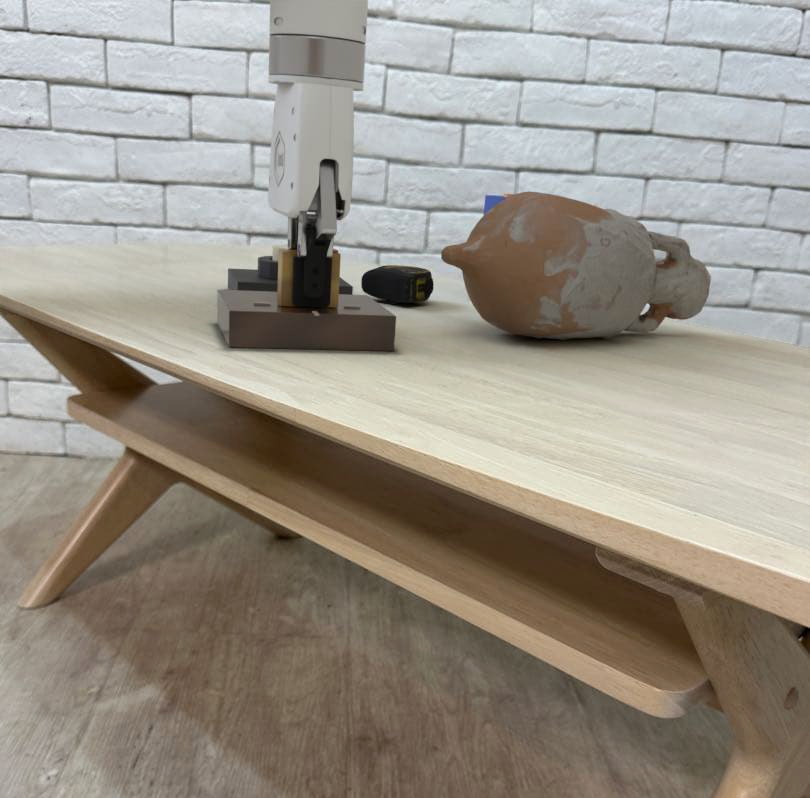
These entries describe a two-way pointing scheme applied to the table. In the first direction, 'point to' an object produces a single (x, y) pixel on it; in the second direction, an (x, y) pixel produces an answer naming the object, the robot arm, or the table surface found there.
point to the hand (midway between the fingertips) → (307, 302)
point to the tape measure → (398, 283)
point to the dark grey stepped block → (266, 278)
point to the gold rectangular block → (287, 278)
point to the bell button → (277, 251)
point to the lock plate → (304, 323)
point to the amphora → (574, 270)
